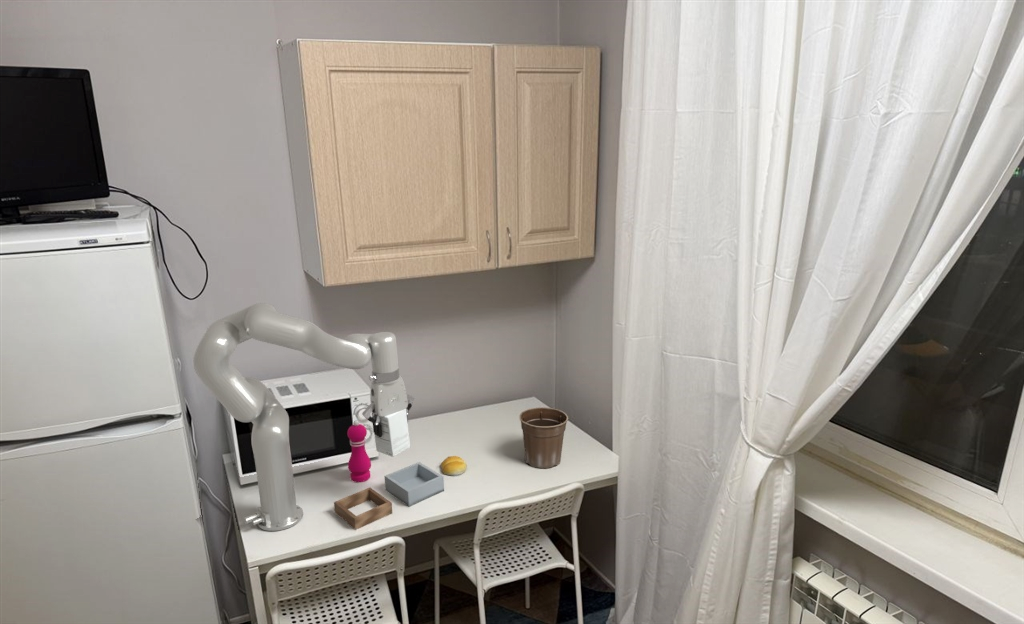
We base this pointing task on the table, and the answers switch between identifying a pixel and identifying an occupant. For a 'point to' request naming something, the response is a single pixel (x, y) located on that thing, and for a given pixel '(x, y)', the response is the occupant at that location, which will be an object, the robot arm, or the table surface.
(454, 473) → the bread roll
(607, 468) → the table surface
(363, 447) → the pepper mill
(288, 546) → the table surface
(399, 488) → the grey bin
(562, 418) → the plant pot
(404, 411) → the supplement box
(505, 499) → the table surface
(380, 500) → the walnut frame
